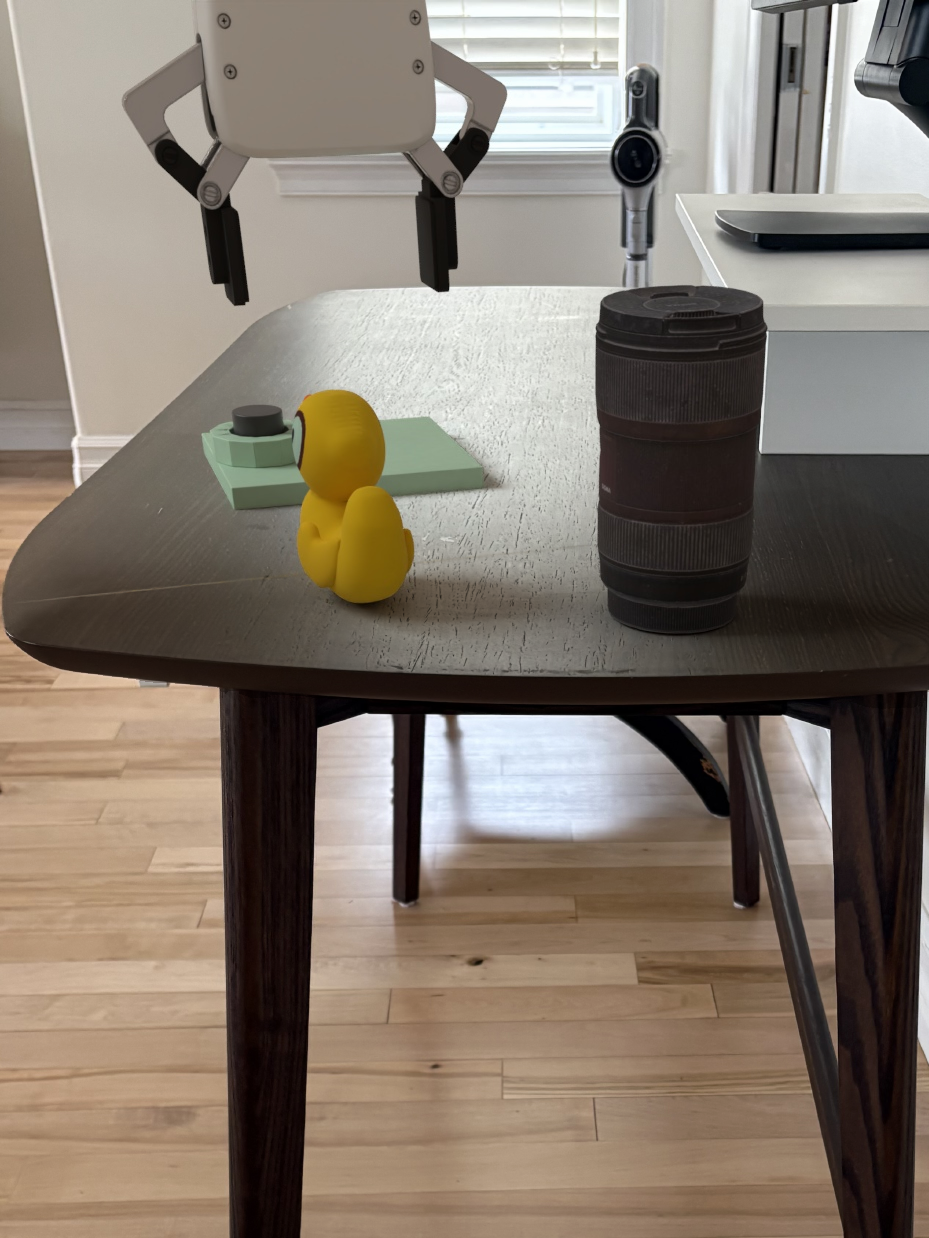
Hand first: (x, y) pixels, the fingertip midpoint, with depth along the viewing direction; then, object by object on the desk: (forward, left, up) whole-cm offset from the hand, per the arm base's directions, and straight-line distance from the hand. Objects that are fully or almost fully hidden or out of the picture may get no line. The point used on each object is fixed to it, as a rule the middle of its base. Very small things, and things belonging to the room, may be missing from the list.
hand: (338, 294), depth 73 cm
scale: (+4, +24, -15) cm, 28 cm away
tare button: (-1, +24, -12) cm, 27 cm away
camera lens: (+15, -8, -15) cm, 22 cm away
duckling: (0, 0, -15) cm, 15 cm away
